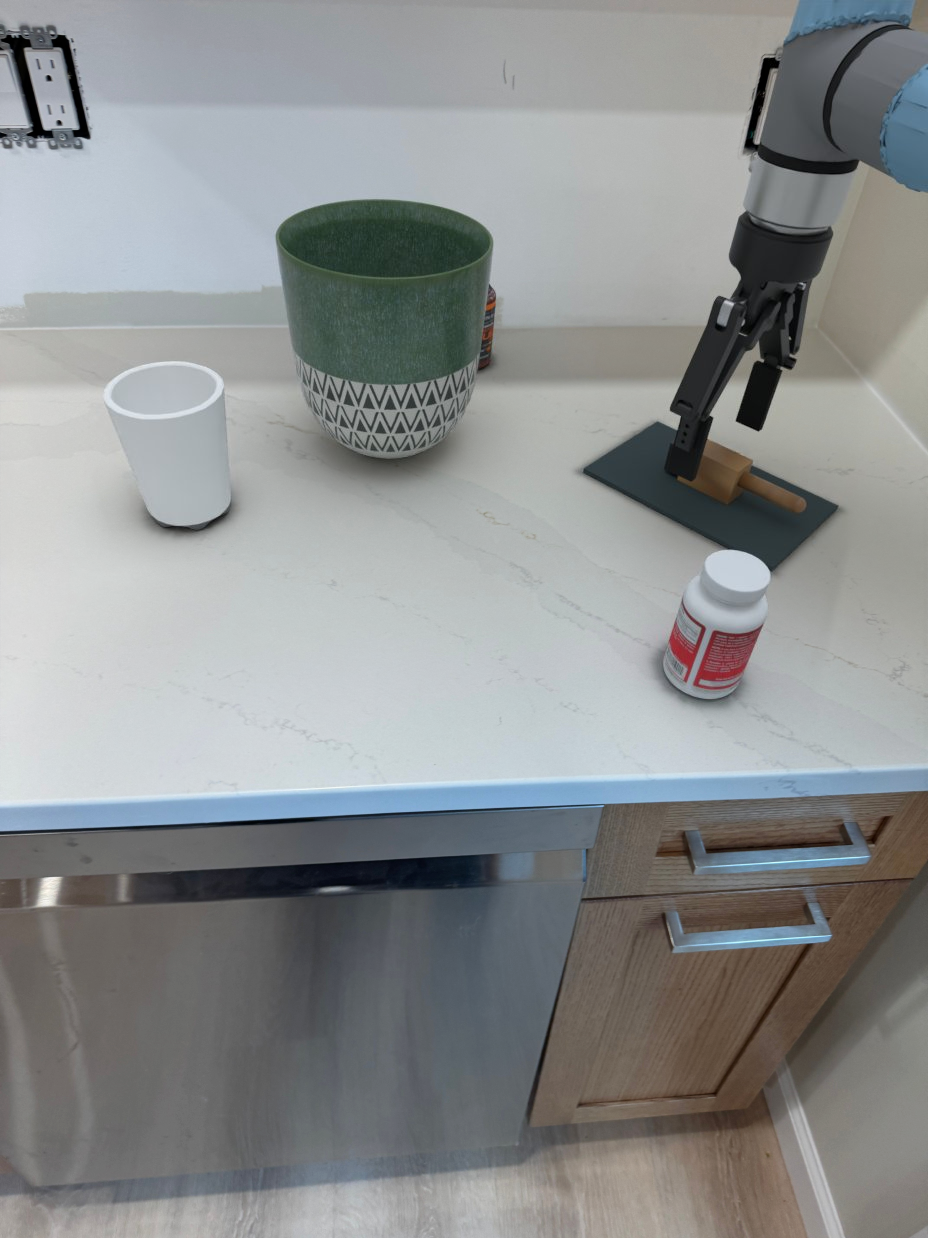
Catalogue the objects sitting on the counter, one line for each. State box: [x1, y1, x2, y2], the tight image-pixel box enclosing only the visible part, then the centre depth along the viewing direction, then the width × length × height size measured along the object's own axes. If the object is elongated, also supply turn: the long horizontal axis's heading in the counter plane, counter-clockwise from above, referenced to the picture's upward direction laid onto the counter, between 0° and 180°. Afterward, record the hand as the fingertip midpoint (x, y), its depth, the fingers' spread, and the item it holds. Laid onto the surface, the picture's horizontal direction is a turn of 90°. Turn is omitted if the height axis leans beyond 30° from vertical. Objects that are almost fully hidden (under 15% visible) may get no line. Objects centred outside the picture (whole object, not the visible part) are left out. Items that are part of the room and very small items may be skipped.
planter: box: [274, 198, 494, 460], centre depth 81 cm, size 20×20×21 cm
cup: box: [102, 360, 232, 531], centre depth 74 cm, size 10×10×13 cm
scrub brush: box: [664, 438, 806, 513], centre depth 82 cm, size 15×3×4 cm, turn 47°
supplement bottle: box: [478, 280, 497, 370], centre depth 99 cm, size 6×6×11 cm
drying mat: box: [582, 420, 839, 572], centre depth 85 cm, size 22×14×1 cm, turn 47°
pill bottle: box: [662, 549, 772, 700], centre depth 63 cm, size 6×6×11 cm
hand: (716, 448), depth 81 cm, fingers open, 12 cm apart
